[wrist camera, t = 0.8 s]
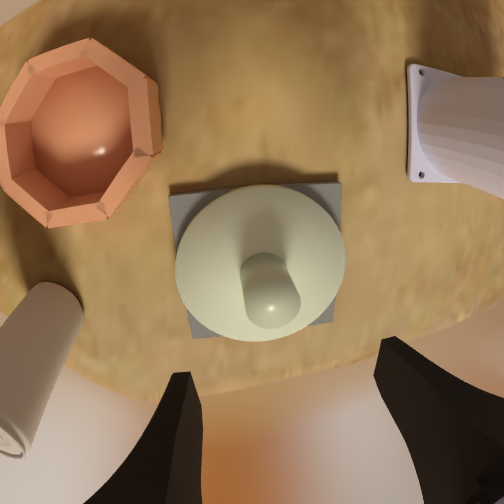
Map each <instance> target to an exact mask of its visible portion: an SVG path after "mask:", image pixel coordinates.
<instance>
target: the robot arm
mask: <svg viewBox="0 0 504 504" xmlns="http://www.w3.org/2000/svg"><path fill="white" fill-rule="evenodd" d="M419 69H420V71H421V73H422V74H421V75H420V74H419ZM407 79H408V104H409V145H408V170H407V176H408V178H409V180H410V181H413V182H442V183H465V184H468V185H470V186H473V187H475V188H478V189H480V190H483V191H485V192H487V193H490V194H492V195H495V196H497V197H499V198H501V199H504V77H462V76H459V75H456V74H452V73H449V72H445V71H442V70H438V69H434V68H430V67H426V66H422V65H418V64H410V65H408V67H407ZM420 172H421V176H420V177H419V173H420ZM374 378H375V381H376V384H377V387H378V389H379V392H380V394H381V397H382V398H383V400H384V402H385V404H386V406H387V408H388V410H389V412H390V413H391V415H392V417H393V419H394V421H395V423H396V425H397V426H398V428H399V430H400V432H401V434H402V436H403V438H404V440H405V442H406V444H407V447H408V449H409V452H410V455H411V458H412V460H413V463H414V466H415V469H416V473H417V476H418V479H419V483H420V487H421V491H422V495H423V500H424V504H504V398H502V397H499V396H496V395H493V394H490V393H488V392H486V391H483V390H481V389H479V388H476V387H474V386H472V385H470V384H468V383H466V382H464V381H462V380H460V379H459V378H457V377H455V376H454V375H452V374H450V373H449V372H447V371H445V370H444V369H442V368H440V367H439V366H438V365H436V364H434V363H433V362H431V361H430V360H428V359H427V358H426V357H424V356H423V355H421V354H420V353H418V352H417V351H416V350H414V349H413V348H412V347H410V346H409V345H407V344H406V343H405V342H403V341H402V340H400V339H399V338H397V337H396V336H393V337H390V338H386V339H382V340H381V345H380V350H379V354H378V358H377V363H376V367H375V371H374ZM202 437H203V423H202V408H201V403H200V400H199V397H198V394H197V391H196V388H195V385H194V382H193V379H192V376H191V372H178V373H173V374H172V375H171V378H170V381H169V383H168V385H167V388H166V390H165V392H164V394H163V396H162V399H161V401H160V403H159V405H158V407H157V409H156V411H155V413H154V415H153V417H152V418H151V420H150V422H149V424H148V426H147V427H146V429H145V431H144V432H143V435H142V436H141V437H140V439H139V441H138V442H137V444H136V445H135V447H134V448H133V450H132V451H131V453H130V454H129V455H128V457H127V458H126V459H125V461H124V462H123V463H122V464H121V466H120V467H119V468H118V469H117V470H116V472H115V473H114V474H113V475H112V476H111V477H110V479H109V480H108V481H107V482H106V483H105V484H104V485H103V486H102V487H101V488H100V489H99V490H98V491H97V492H96V493H95V494H94V495H93V496H91V497H90V498H89V499H88V500H87V501H86V502H85V503H83V504H202V495H201V461H202V440H203V438H202Z"/></svg>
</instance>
